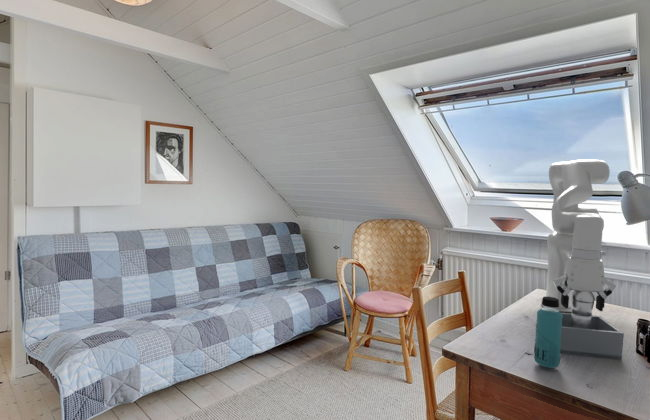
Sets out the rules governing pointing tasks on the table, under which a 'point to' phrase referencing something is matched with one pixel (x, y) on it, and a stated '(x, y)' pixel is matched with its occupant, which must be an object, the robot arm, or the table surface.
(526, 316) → the table surface
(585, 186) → the robot arm
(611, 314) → the table surface
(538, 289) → the table surface
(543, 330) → the beverage bottle
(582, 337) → the bin
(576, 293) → the silver aluminium bottle
